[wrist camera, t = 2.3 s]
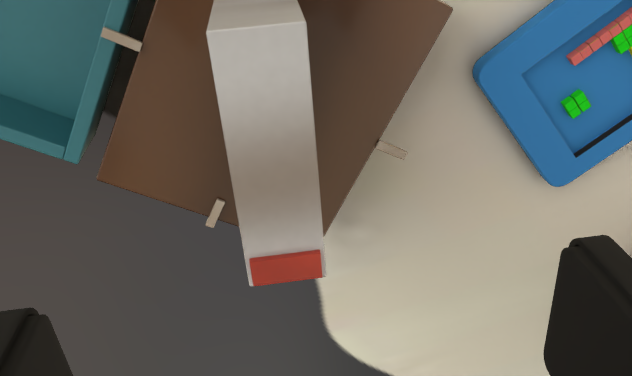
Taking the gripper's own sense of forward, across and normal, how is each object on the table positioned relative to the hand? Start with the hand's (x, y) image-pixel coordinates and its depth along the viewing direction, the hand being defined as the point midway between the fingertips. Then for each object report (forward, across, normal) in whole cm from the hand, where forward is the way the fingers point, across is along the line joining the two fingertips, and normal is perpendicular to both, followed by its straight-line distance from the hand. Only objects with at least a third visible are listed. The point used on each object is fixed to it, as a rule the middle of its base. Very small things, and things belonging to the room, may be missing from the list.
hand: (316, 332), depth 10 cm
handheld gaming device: (+16, -17, 0) cm, 23 cm away
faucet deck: (+16, +1, 0) cm, 16 cm away
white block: (+13, +1, 0) cm, 13 cm away
